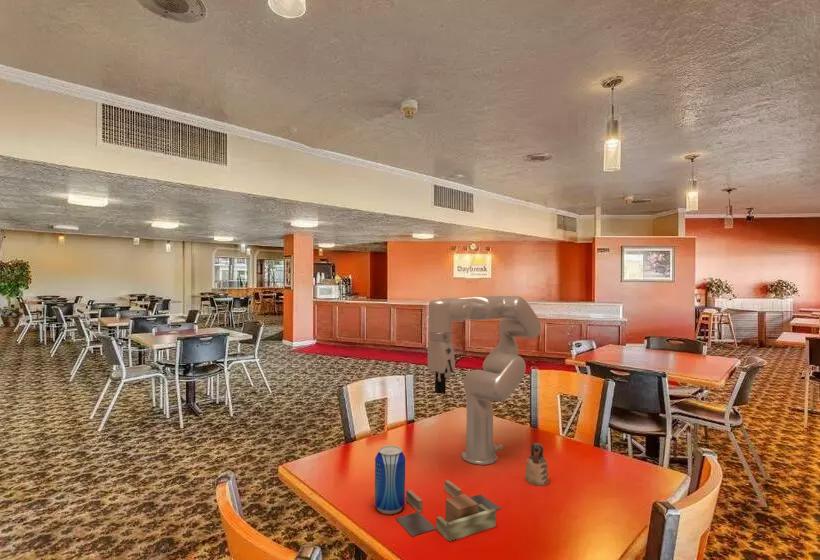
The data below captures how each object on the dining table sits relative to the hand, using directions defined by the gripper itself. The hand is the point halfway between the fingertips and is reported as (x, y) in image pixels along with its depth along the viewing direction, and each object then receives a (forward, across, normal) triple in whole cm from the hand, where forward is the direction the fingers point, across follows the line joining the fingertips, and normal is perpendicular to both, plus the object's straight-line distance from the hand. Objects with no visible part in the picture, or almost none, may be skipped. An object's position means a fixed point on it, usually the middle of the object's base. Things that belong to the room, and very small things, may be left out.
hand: (440, 392), depth 140 cm
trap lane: (+26, -22, +12) cm, 36 cm away
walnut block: (+26, -28, +12) cm, 40 cm away
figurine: (+27, -19, -24) cm, 41 cm away
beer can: (+26, -11, +25) cm, 38 cm away
